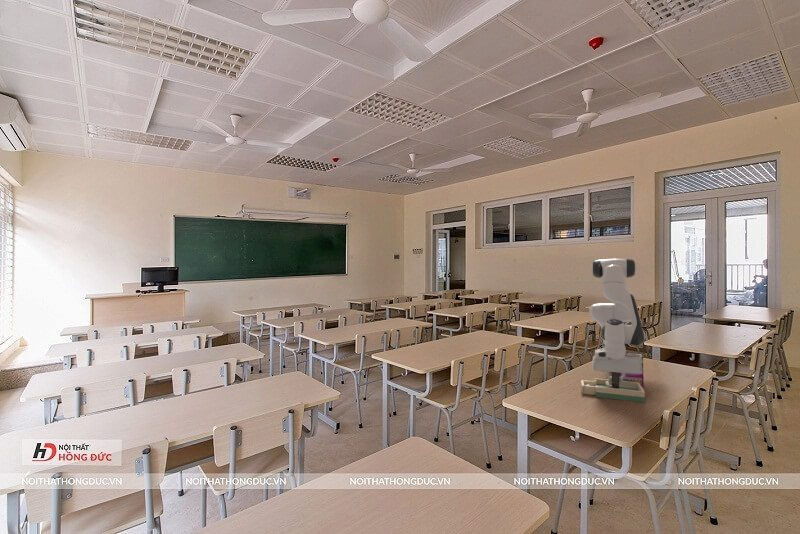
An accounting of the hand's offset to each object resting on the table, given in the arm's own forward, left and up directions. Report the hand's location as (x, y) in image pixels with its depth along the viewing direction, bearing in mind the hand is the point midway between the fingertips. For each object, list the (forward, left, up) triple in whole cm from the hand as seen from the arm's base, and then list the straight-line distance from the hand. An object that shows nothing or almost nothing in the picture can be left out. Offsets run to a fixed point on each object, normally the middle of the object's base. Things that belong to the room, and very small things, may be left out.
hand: (615, 380), depth 179 cm
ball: (0, -12, -5) cm, 13 cm away
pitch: (0, -2, -7) cm, 7 cm away
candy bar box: (-17, +9, -7) cm, 21 cm away
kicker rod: (0, -1, -4) cm, 4 cm away
